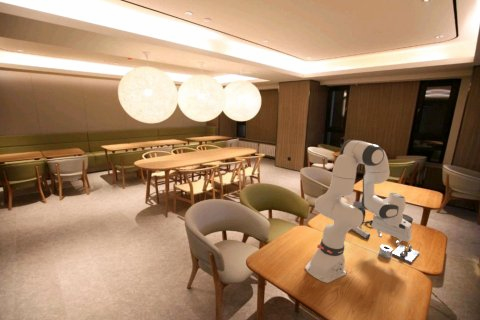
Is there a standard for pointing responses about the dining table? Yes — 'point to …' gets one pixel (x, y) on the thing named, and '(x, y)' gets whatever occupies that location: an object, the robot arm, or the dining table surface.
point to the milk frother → (360, 207)
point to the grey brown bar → (362, 232)
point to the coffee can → (408, 218)
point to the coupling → (385, 251)
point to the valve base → (408, 256)
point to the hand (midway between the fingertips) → (388, 240)
